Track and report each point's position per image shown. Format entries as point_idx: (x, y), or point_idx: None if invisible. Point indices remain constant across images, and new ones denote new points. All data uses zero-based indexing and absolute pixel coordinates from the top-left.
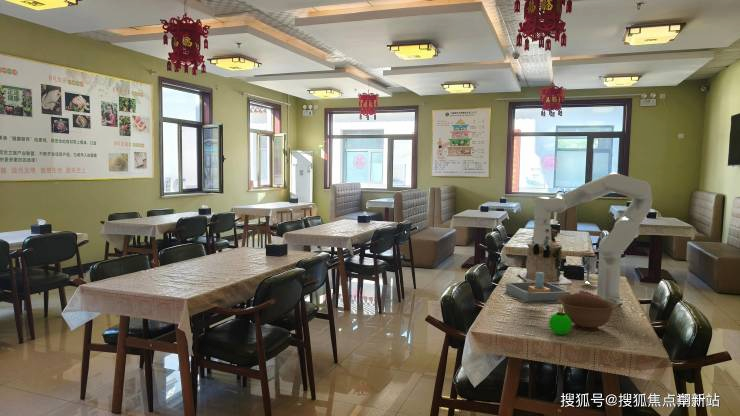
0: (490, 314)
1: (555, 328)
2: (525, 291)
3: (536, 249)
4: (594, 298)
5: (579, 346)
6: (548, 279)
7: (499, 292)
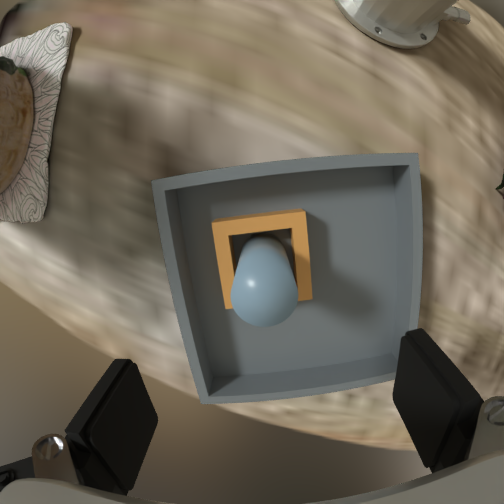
0: None
1: None
2: (381, 376)
3: (125, 442)
4: None
5: None
6: (28, 117)
7: (226, 403)
